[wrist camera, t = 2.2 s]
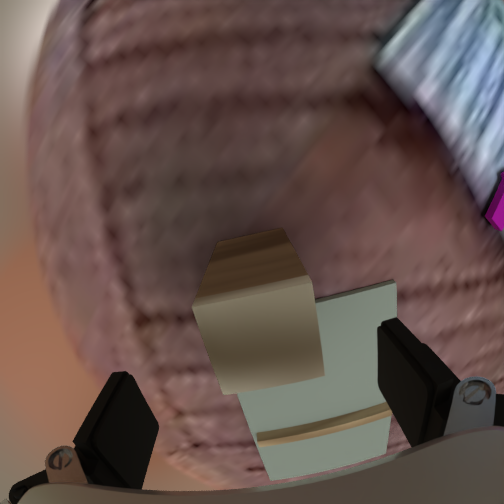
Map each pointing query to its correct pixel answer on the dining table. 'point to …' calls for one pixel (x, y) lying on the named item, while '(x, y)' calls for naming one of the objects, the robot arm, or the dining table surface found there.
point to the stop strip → (324, 426)
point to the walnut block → (258, 314)
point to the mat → (330, 389)
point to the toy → (497, 208)
